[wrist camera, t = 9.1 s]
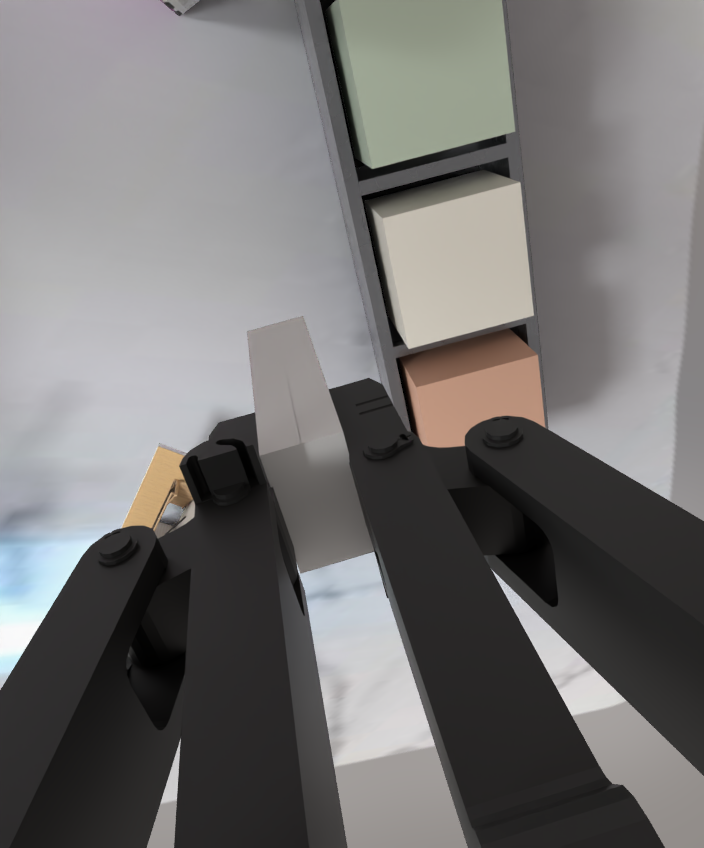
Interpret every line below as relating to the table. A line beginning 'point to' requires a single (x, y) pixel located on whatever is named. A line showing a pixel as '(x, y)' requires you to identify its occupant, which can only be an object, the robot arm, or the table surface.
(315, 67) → the grey compartment tray
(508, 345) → the terracotta key
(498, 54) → the sage key
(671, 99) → the table surface
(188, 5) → the candy bar box
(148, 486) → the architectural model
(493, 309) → the ivory key
